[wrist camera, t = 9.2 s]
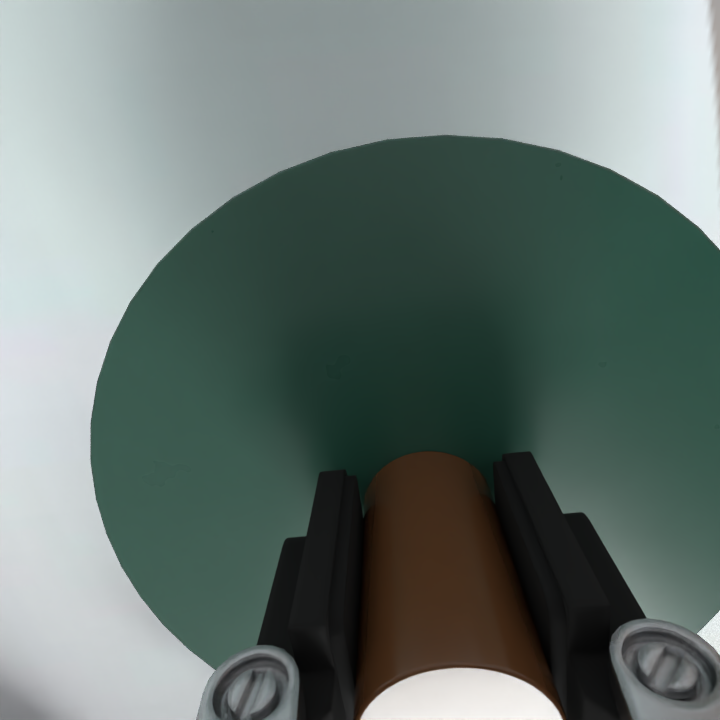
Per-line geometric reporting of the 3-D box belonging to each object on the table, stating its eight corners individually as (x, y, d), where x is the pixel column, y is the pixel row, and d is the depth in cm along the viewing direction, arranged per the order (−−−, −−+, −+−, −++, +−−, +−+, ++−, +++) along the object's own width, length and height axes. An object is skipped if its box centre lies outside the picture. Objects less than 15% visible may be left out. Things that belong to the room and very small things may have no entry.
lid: (18, 198, 10) (-421, 235, 5) (805, 78, 9) (1506, -66, 3) (199, 711, 16) (95, 1025, 10) (719, 681, 14) (942, 1021, 9)
